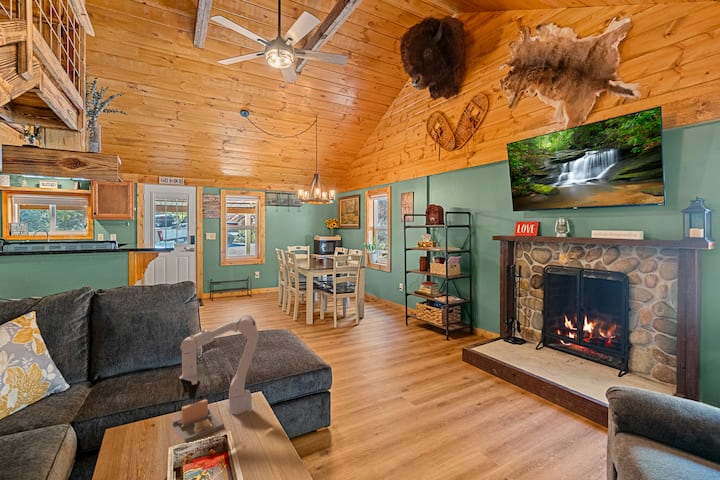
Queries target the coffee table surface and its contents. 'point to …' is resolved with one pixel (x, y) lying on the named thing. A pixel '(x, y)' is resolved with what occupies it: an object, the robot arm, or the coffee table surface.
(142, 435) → the coffee table surface
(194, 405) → the panel
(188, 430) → the rack
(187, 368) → the robot arm
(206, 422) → the offcut top
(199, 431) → the block
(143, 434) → the coffee table surface
